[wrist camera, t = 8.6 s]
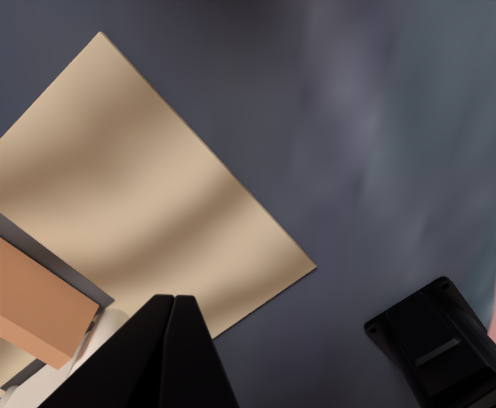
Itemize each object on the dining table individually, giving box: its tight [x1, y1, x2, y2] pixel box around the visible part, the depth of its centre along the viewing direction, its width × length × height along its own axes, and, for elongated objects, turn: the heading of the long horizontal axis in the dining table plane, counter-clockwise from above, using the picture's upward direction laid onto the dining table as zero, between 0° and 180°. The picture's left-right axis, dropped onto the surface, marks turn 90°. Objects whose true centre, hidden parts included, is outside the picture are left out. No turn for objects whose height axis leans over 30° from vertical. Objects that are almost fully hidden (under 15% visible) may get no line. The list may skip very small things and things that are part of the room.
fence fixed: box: [0, 308, 129, 408], centre depth 21 cm, size 2×12×6 cm, turn 130°
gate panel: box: [0, 237, 99, 370], centre depth 17 cm, size 2×9×5 cm, turn 42°
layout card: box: [0, 32, 316, 398], centre depth 21 cm, size 17×24×1 cm
